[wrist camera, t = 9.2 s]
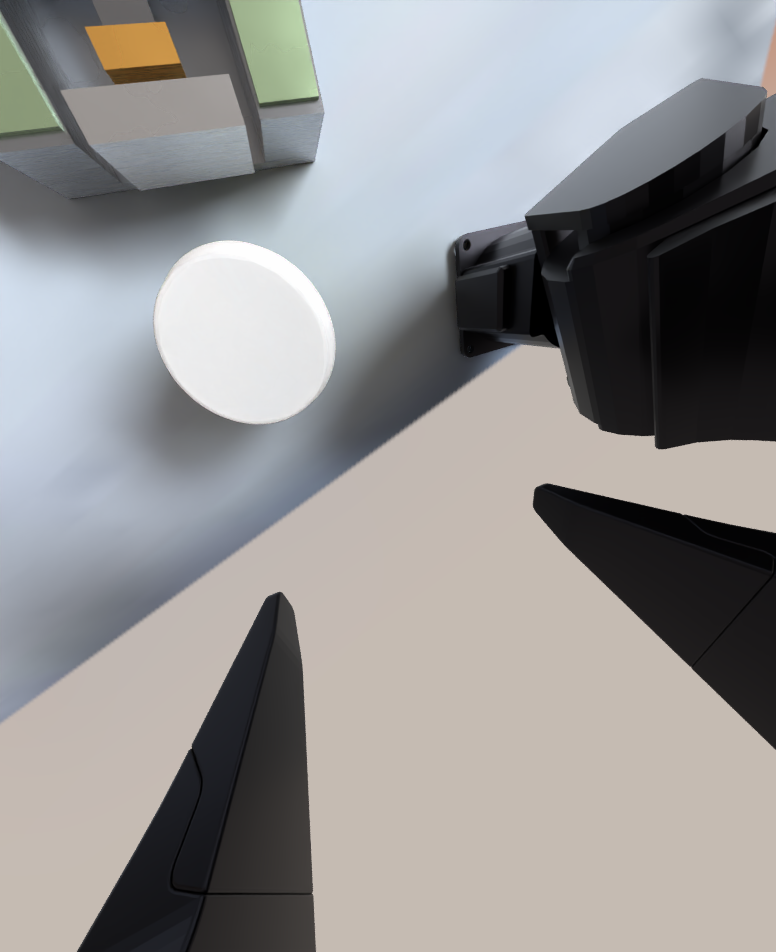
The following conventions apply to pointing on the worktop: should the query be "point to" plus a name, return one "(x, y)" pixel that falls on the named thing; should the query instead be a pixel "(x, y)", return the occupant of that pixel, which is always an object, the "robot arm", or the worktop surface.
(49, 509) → the worktop surface
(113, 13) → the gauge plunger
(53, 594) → the worktop surface
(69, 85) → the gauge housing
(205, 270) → the supplement bottle
